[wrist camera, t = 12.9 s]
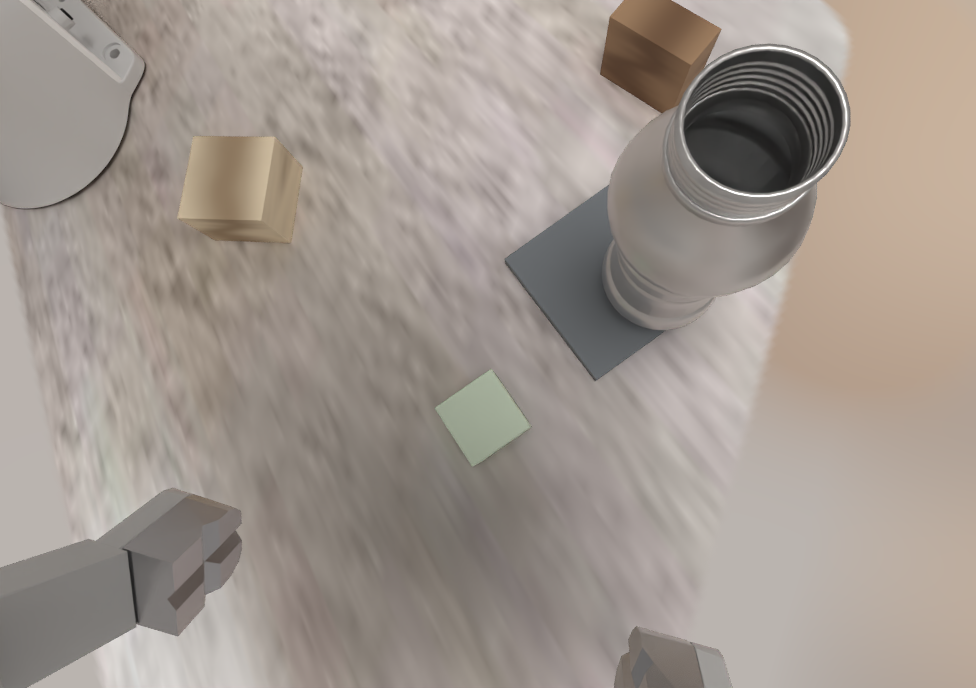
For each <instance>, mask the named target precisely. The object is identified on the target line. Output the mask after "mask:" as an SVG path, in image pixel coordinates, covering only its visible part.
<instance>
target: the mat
mask: <svg viewBox="0 0 976 688" xmlns="http://www.w3.org/2000/svg"><path fill="white" fill-rule="evenodd" d="M608 188H609V185H608V186H607V187H605V188H604V189H602V190H601V191H599V192H598V193H597V194H595V195H594V196H592V197H591V198H590V199H588V200H587V201H585V202H584V203H583V204H581V205H580V206H578V207H577V208H576V209H574V210H573V211H571V212H570V213H569V214H567V215H566V216H564V217H563V218H562V219H560V220H559V221H557V222H556V223H554V224H553V225H552V226H550V227H549V228H547V229H546V230H545V231H543V232H542V233H540V234H539V235H538V236H536V237H535V238H533V239H532V240H531V241H529V242H528V243H526V244H525V245H524V246H522V247H521V248H519V249H518V250H517V251H515V252H514V253H512V254H511V255H510V256H508V257H507V258H505V263H506V264H507V266H508V267H509V268H510V270H511V271H512V272H513V274H514V275H515V276H516V277H517V279H518V280H519V281H520V283H521V284H522V285H523V287H524V288H525V289H526V291H527V292H528V293H529V295H530V296H531V297H532V299H533V300H534V301H535V302H536V304H537V305H538V306H539V308H540V309H541V310H542V312H543V313H544V314H545V316H546V317H547V318H548V320H549V321H550V322H551V323H552V325H553V326H554V327H555V329H556V330H557V331H558V333H559V334H560V335H561V337H562V338H563V339H564V341H565V342H566V343H567V345H568V346H569V347H570V348H571V350H572V351H573V352H574V354H575V355H576V356H577V358H578V359H579V360H580V362H581V363H582V364H583V366H584V367H585V368H586V369H587V371H588V372H589V373H590V375H591V376H592V377H593V379H594V380H595V381H596V380H597V379H599V378H600V377H602V376H603V375H604V374H606V373H607V372H608V371H610V370H611V369H613V368H614V367H615V366H617V365H618V364H620V363H621V362H622V361H624V360H625V359H627V358H628V357H629V356H631V355H632V354H634V353H635V352H636V351H638V350H639V349H641V348H642V347H643V346H645V345H646V344H647V343H649V342H650V341H652V340H653V339H654V338H656V337H657V336H659V335H660V334H661V333H663V332H664V331H666V330H652V329H648V328H644V327H641V326H639V325H636V324H634V323H632V322H630V321H629V320H627V319H626V318H625V317H623V316H622V315H621V314H620V313H619V312H618V311H617V310H616V309H615V308H614V307H613V305H612V304H611V302H610V301H609V299H608V297H607V295H606V292H605V290H604V286H603V281H602V265H603V260H604V256H605V254H606V251H607V249H608V247H609V245H610V244H611V242H612V241H613V239H614V238H613V236H612V234H611V228H610V223H609V218H608V210H607V200H608Z"/></svg>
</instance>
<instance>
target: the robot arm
mask: <svg viewBox="0 0 976 688" xmlns="http://www.w3.org/2000/svg"><path fill="white" fill-rule="evenodd" d="M144 67H145V64H144V61H143V59H142V58H141V57H140V56H139V55H138V54H137V53H136V52H135V51H134V50H133V49H132V48H131V47H130V46H129V45H128V44H127V43H126V42H125V41H124V40H123V39H122V38H121V37H119V36H118V35H117V34H116V33H115V32H114V31H113V30H112V29H111V28H110V27H109V26H108V25H107V24H106V23H105V22H104V21H103V20H102V19H101V18H100V17H99V16H98V15H96V14H95V13H94V12H93V11H92V10H91V9H90V8H89V7H88V6H87V5H86V4H85V3H84V2H83V1H82V0H0V203H1V204H3V205H6V206H10V207H15V208H38V207H43V206H47V205H51V204H54V203H57V202H59V201H62V200H64V199H66V198H68V197H70V196H72V195H73V194H75V193H77V192H78V191H80V190H81V189H83V188H84V187H85V186H87V185H88V184H89V183H90V182H91V181H92V180H93V179H94V178H96V177H97V176H98V175H99V173H100V172H101V171H102V170H103V169H104V168H105V167H106V165H107V164H108V163H109V161H110V160H111V158H112V157H113V155H114V153H115V152H116V150H117V148H118V146H119V144H120V142H121V139H122V137H123V134H124V131H125V127H126V123H127V118H128V110H129V103H130V99H131V95H132V93H133V92H134V90H135V88H136V86H137V84H138V82H139V81H140V79H141V76H142V74H143V71H144ZM241 524H242V520H241V511H240V510H238V509H236V508H234V507H231V506H228V505H225V504H222V503H219V502H216V501H213V500H210V499H207V498H203V497H200V496H197V495H193V494H190V493H187V492H184V491H181V490H178V489H175V488H171V489H167V490H164V491H162V492H161V493H159V494H158V495H157V496H155V497H154V498H153V499H151V500H150V501H149V502H147V503H146V504H145V505H143V506H142V507H141V508H139V509H138V510H137V511H135V512H134V513H133V514H131V515H130V516H129V517H127V518H126V519H125V520H123V521H122V522H121V523H119V524H118V525H117V526H115V527H114V528H113V529H111V530H110V531H108V532H107V533H106V534H104V535H103V536H102V537H100V538H99V539H98V540H96V541H94V540H90V539H87V540H84V541H81V542H78V543H75V544H72V545H69V546H66V547H63V548H60V549H56V550H53V551H50V552H47V553H44V554H41V555H38V556H35V557H32V558H29V559H26V560H22V561H19V562H16V563H13V564H10V565H7V566H4V567H1V568H0V688H27V687H29V686H31V685H32V684H34V683H36V682H38V681H39V680H41V679H43V678H45V677H47V676H49V675H51V674H52V673H54V672H56V671H58V670H60V669H61V668H63V667H65V666H67V665H69V664H70V663H72V662H74V661H76V660H78V659H79V658H81V657H83V656H85V655H87V654H88V653H90V652H92V651H94V650H96V649H97V648H99V647H101V646H103V645H105V644H106V643H108V642H110V641H112V640H114V639H115V638H117V637H119V636H121V635H123V634H124V633H126V632H128V631H130V630H132V629H134V628H135V627H136V624H138V625H141V626H145V627H148V628H151V629H155V630H158V631H162V632H165V633H168V634H172V635H175V636H179V635H180V634H181V632H182V631H183V630H184V629H185V628H186V627H187V626H188V625H189V623H190V622H191V621H192V620H193V619H194V618H195V617H196V615H197V614H198V613H199V612H200V611H201V610H202V609H203V608H204V605H205V595H206V594H208V593H211V592H213V591H215V590H217V589H219V588H221V587H222V586H223V585H224V583H225V582H226V581H227V580H228V579H229V578H230V576H231V575H232V573H233V571H234V569H235V567H236V566H237V564H238V562H239V559H240V555H241V551H242V540H241V538H240V537H239V535H238V534H237V532H236V531H235V530H236V529H237V528H238V527H239V526H240V525H241ZM628 643H629V652H628V653H626V654H624V655H622V656H621V659H620V661H619V664H618V667H617V671H616V677H615V682H614V688H732V684H731V681H730V678H729V674H728V671H727V668H726V664H725V661H724V658H723V655H722V654H721V652H720V651H719V650H717V649H714V648H710V647H707V646H703V645H700V644H696V643H693V642H688V641H687V640H683V639H680V638H676V637H673V636H669V635H666V634H662V633H659V632H655V631H652V630H648V629H645V628H641V627H638V626H636V627H635V628H634V629H633V630H632V632H631V634H630V637H629V639H628Z"/></svg>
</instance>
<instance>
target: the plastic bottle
mask: <svg viewBox="0 0 976 688" xmlns="http://www.w3.org/2000/svg"><path fill="white" fill-rule="evenodd" d="M849 129H850V106H849V102H848V98H847V94H846V92H845V90H844V88H843V86H842V84H841V82H840V80H839V79H838V78H837V76H836V75H835V74H834V73H833V71H832V70H831V69H830V68H829V67H828V66H827V65H825V64H824V63H823V62H822V61H820V60H819V59H818V58H816V57H815V56H813V55H811V54H809V53H807V52H805V51H803V50H800V49H797V48H793V47H790V46H786V45H777V44H759V45H751V46H747V47H743V48H739V49H735V50H733V51H731V52H729V53H726V54H724V55H722V56H720V57H719V58H717V59H716V60H714V61H713V62H711V63H710V64H708V65H707V66H706V67H705V68H704V69H703V70H702V71H701V72H700V73H699V74H698V75H697V76H696V77H695V78H694V80H693V81H692V82H691V84H690V85H689V87H688V88H687V89H686V91H685V92H684V94H683V97H682V99H681V101H680V103H679V105H678V106H676V107H674V108H671V109H669V110H667V111H665V112H664V113H662V114H661V115H659V116H658V117H656V118H655V119H653V120H652V121H650V122H649V123H648V124H647V125H646V126H645V127H644V128H643V129H642V130H641V131H640V132H639V133H638V134H637V135H636V136H635V137H634V138H633V139H632V140H631V141H630V142H629V144H628V145H627V147H626V148H625V149H624V151H623V152H622V154H621V155H620V156H619V158H618V161H617V163H616V165H615V167H614V170H613V172H612V174H611V179H610V183H609V188H608V200H607V210H608V218H609V223H610V228H611V234H612V236H613V238H614V239H613V241H612V242H611V244H610V245H609V247H608V249H607V251H606V254H605V256H604V260H603V265H602V281H603V286H604V290H605V292H606V295H607V297H608V299H609V301H610V302H611V304H612V305H613V307H614V308H615V309H616V310H617V311H618V312H619V313H620V314H621V315H622V316H623V317H625V318H626V319H627V320H629V321H630V322H632V323H634V324H636V325H639V326H641V327H644V328H648V329H652V330H670V329H677V328H680V327H683V326H686V325H688V324H690V323H692V322H693V321H695V320H697V319H698V318H699V317H700V316H702V315H703V314H704V313H705V312H706V311H707V310H708V308H709V307H710V306H711V304H712V303H713V301H714V300H715V298H716V297H720V296H727V295H730V294H733V293H736V292H739V291H742V290H745V289H748V288H751V287H753V286H756V285H758V284H759V283H761V282H763V281H765V280H766V279H768V278H770V277H771V276H773V275H774V274H775V273H777V272H778V271H779V270H780V269H781V268H782V267H783V266H784V265H786V264H787V263H788V262H789V261H790V259H791V258H792V257H793V255H794V254H795V253H796V251H797V250H798V249H799V247H800V246H801V244H802V242H803V240H804V237H805V235H806V233H807V231H808V229H809V226H810V223H811V220H812V217H813V213H814V209H815V204H816V200H817V182H818V181H819V180H820V179H822V178H823V177H824V176H825V175H826V174H827V173H828V172H829V170H830V169H831V168H832V166H833V165H834V164H835V162H836V161H837V159H838V158H839V156H840V155H841V152H842V150H843V148H844V146H845V144H846V142H847V138H848V134H849Z"/></svg>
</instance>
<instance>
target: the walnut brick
mask: <svg viewBox="0 0 976 688" xmlns="http://www.w3.org/2000/svg"><path fill="white" fill-rule="evenodd" d="M720 31H721V28H719V27H717V26H715V25H714V24H712V23H710V22H708V21H707V20H705V19H703V18H701V17H700V16H698V15H696V14H694V13H693V12H691V11H689V10H687V9H686V8H684V7H682V6H680V5H679V4H677V3H675V2H673V1H672V0H624V1H623V2H622V3H621V4H620V6H619V7H618V8H617V9H616V10H615V11H614V13H613V14H612V15H611V16H610V19H609V25H608V31H607V37H606V43H605V49H604V55H603V61H602V67H601V73H600V75H602V76H604V77H605V78H607V79H608V80H610V81H612V82H613V83H615V84H616V85H618V86H620V87H621V88H623V89H624V90H626V91H627V92H629V93H631V94H632V95H634V96H635V97H637V98H639V99H640V100H642V101H643V102H645V103H647V104H648V105H650V106H651V107H653V108H654V109H656V110H658V111H659V112H661V113H664V112H665V111H667V110H669V109H671V108H674V107H676V106H678V105H679V103H680V101H681V99H682V97H683V94H684V92H685V91H686V89H687V88H688V87H689V85H690V84H691V82H692V81H693V80H694V78H695V77H696V76H697V75H698V74H699V73H700V72H701V71H702V70H703V69H704V67H705V65H706V62H707V60H708V58H709V56H710V54H711V51H712V49H713V47H714V45H715V42H716V40H717V38H718V36H719V34H720Z"/></svg>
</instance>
